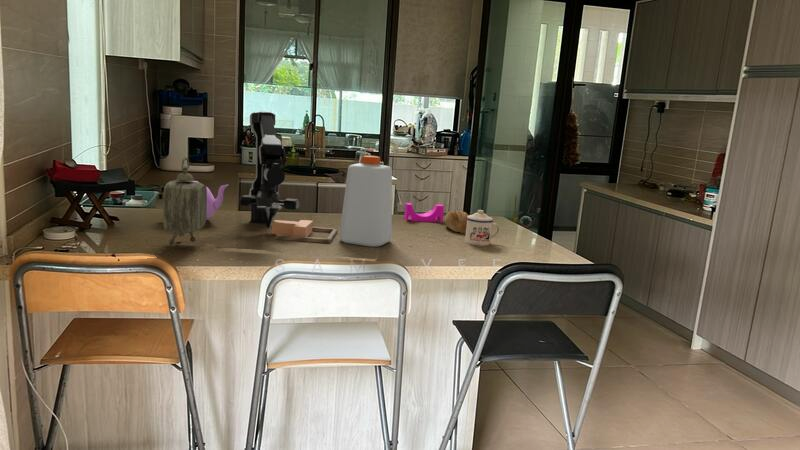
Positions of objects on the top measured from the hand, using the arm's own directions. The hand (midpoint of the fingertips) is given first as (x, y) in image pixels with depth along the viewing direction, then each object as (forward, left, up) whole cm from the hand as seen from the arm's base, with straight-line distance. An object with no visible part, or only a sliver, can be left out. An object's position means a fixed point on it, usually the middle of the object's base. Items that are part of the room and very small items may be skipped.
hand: (268, 227), depth 199 cm
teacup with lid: (+72, +9, -2) cm, 73 cm away
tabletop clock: (-19, -22, -2) cm, 29 cm away
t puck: (+8, 0, -2) cm, 8 cm away
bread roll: (+65, +29, -2) cm, 71 cm away
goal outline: (+14, 0, -2) cm, 14 cm away
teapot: (-28, +11, -2) cm, 31 cm away
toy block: (+52, +43, -2) cm, 68 cm away
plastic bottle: (+33, -2, -2) cm, 33 cm away
